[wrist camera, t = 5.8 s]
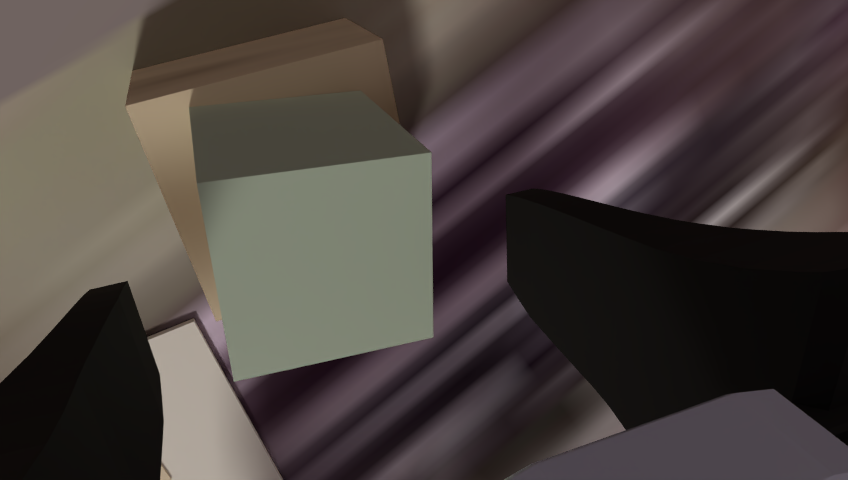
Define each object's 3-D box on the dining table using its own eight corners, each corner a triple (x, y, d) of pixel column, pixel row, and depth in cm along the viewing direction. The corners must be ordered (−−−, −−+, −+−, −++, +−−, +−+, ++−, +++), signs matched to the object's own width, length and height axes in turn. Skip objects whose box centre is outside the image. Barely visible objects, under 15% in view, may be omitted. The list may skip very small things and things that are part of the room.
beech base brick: (384, 198, 22) (424, 250, 18) (207, 254, 20) (216, 321, 17) (343, 16, 19) (382, 38, 15) (132, 69, 17) (124, 105, 14)
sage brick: (369, 237, 17) (433, 337, 13) (216, 262, 16) (233, 381, 12) (360, 90, 16) (431, 152, 11) (189, 106, 14) (196, 183, 10)
